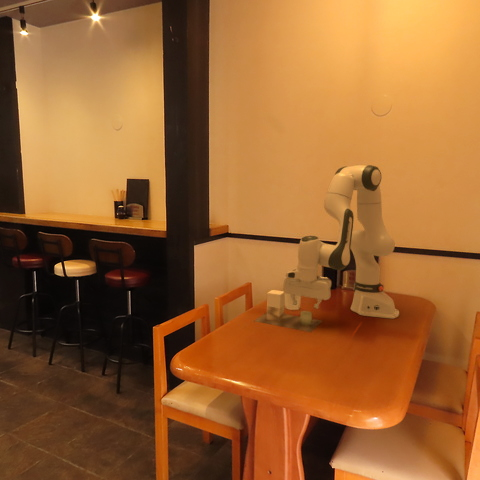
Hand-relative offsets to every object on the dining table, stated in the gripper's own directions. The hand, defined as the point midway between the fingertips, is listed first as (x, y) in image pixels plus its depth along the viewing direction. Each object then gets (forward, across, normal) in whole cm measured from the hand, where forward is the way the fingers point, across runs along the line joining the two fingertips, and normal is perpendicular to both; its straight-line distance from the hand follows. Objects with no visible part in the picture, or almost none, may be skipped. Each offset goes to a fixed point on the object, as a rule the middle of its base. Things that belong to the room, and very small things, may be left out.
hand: (305, 306), depth 177 cm
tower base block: (+8, +14, -1) cm, 16 cm away
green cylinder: (+8, 0, -1) cm, 8 cm away
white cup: (+9, +13, -20) cm, 25 cm away
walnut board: (+9, +8, -1) cm, 12 cm away
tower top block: (+2, +14, 0) cm, 14 cm away
